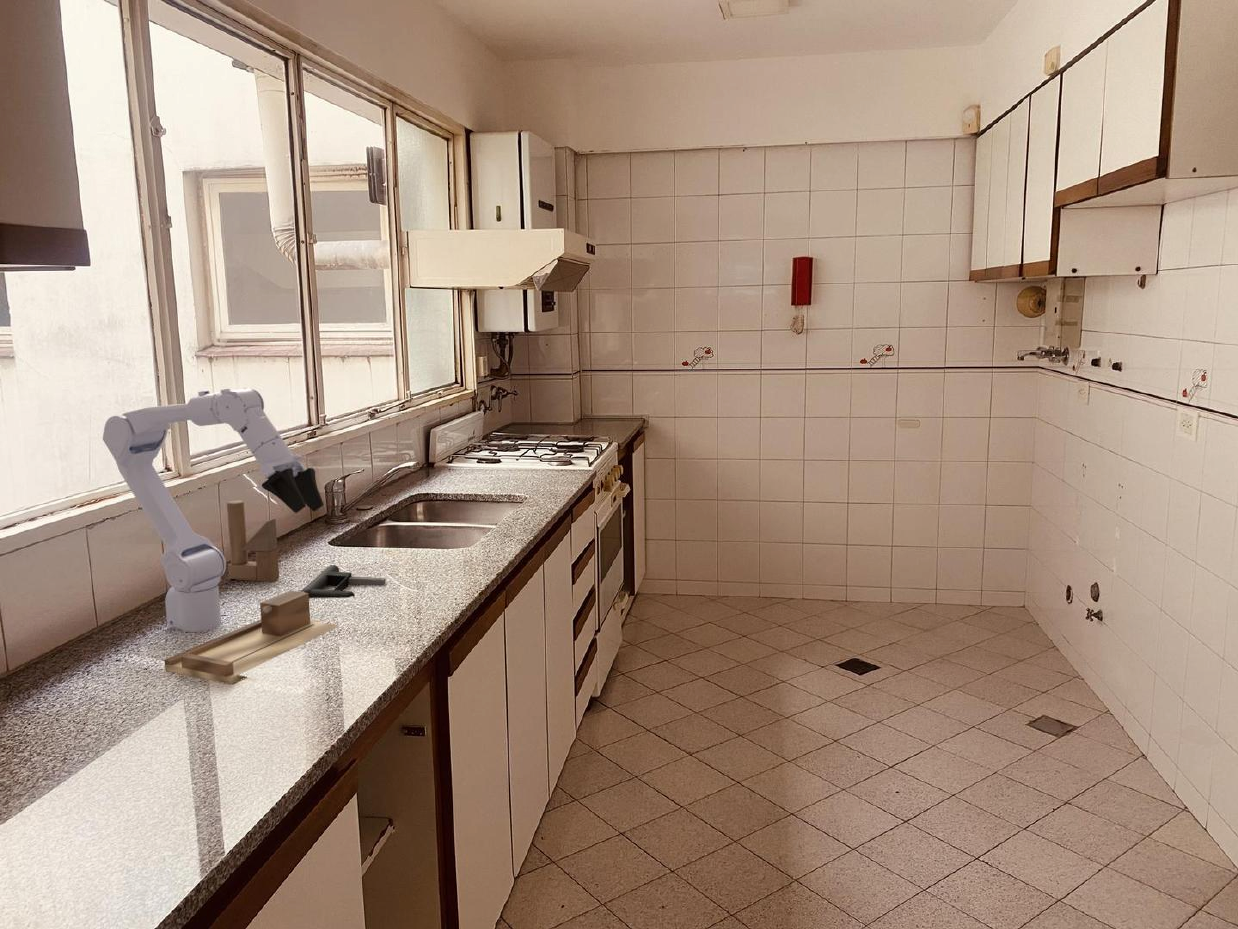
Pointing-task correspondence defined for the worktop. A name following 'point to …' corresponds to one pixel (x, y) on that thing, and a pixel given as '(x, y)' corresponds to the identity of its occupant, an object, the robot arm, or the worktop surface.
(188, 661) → the board
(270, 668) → the worktop surface
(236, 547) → the wooden block
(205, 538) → the robot arm
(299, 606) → the block with white pegs
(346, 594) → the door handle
